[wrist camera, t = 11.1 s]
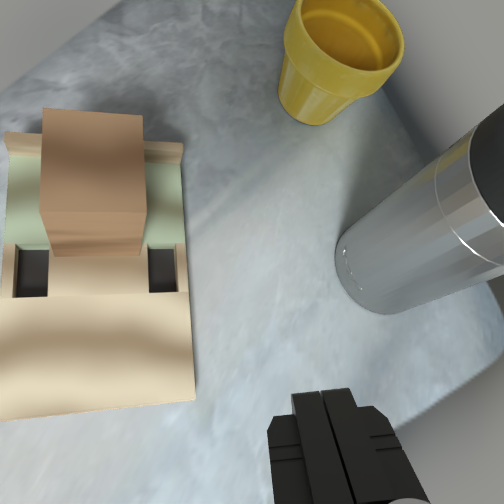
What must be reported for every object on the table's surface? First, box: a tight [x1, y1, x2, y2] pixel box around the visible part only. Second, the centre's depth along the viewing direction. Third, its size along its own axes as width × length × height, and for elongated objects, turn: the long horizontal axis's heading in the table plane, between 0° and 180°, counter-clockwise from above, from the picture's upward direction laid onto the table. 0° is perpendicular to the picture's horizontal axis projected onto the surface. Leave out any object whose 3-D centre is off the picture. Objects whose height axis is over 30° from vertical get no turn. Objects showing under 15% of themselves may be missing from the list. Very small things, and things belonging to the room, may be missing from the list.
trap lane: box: [0, 132, 196, 422], centre depth 33 cm, size 20×13×4 cm, turn 7°
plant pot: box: [278, 0, 405, 125], centre depth 43 cm, size 10×10×10 cm
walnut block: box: [39, 108, 147, 257], centre depth 31 cm, size 7×6×8 cm
